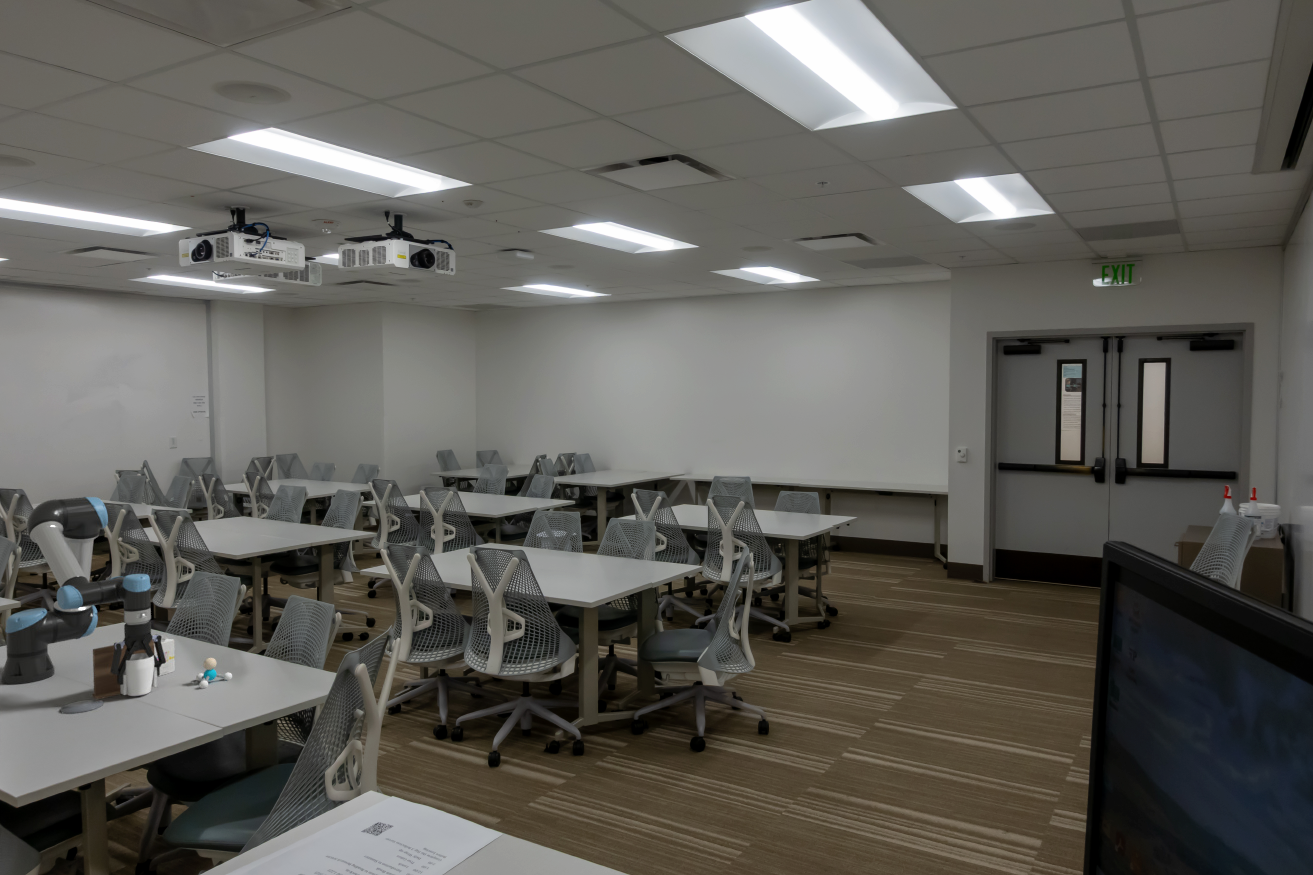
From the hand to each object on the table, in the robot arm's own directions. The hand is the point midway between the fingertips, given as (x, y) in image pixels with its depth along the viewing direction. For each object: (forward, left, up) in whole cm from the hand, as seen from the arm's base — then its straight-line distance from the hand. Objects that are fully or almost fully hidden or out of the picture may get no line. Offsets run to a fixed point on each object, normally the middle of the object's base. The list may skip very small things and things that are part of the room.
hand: (139, 689), depth 283 cm
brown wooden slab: (-8, -1, -2) cm, 8 cm away
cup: (0, 0, -1) cm, 1 cm away
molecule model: (+6, +21, -2) cm, 22 cm away
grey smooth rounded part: (-2, -16, -2) cm, 16 cm away
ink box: (-21, +14, -2) cm, 25 cm away
